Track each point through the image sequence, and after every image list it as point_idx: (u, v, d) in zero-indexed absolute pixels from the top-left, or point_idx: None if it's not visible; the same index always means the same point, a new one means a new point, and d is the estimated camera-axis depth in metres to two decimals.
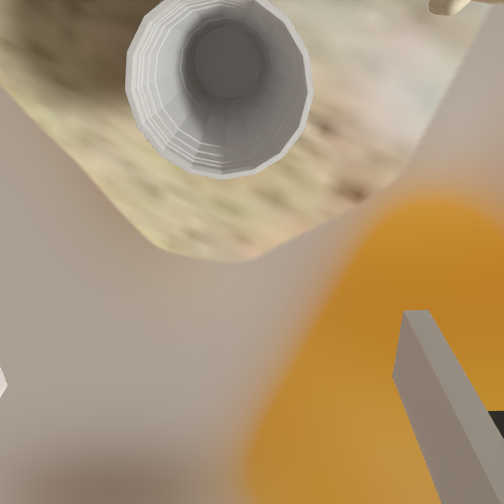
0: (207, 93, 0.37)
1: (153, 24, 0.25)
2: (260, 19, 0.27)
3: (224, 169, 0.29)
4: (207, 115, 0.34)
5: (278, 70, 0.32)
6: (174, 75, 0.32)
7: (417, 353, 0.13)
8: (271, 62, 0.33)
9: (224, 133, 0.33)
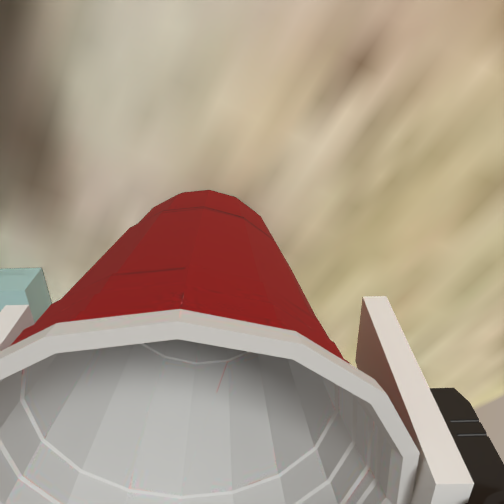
0: None
1: None
2: None
3: (384, 487, 0.11)
4: None
5: None
6: (197, 396, 0.18)
7: (372, 335, 0.14)
8: None
9: None
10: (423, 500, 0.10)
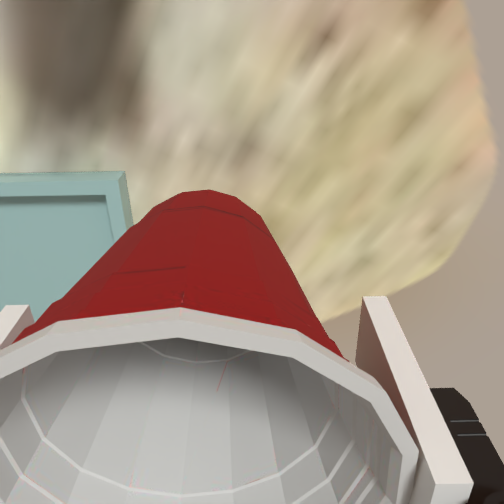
0: None
1: None
2: None
3: (383, 485, 0.11)
4: None
5: None
6: (197, 395, 0.18)
7: (372, 335, 0.14)
8: None
9: None
10: (423, 500, 0.10)
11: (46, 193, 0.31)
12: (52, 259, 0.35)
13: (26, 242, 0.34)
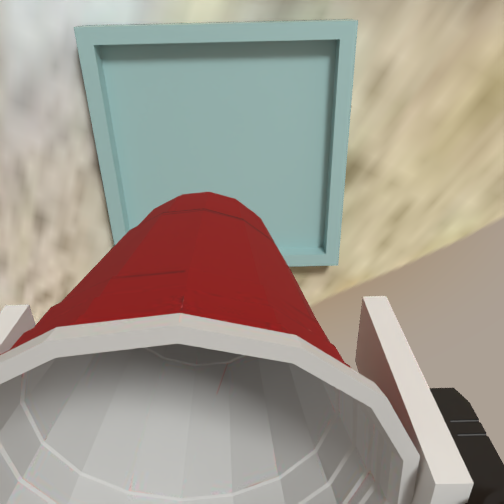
0: None
1: None
2: None
3: (384, 490, 0.11)
4: None
5: None
6: (197, 398, 0.17)
7: (372, 335, 0.14)
8: None
9: None
10: (423, 500, 0.10)
11: (275, 37, 0.28)
12: (254, 128, 0.32)
13: (230, 107, 0.31)
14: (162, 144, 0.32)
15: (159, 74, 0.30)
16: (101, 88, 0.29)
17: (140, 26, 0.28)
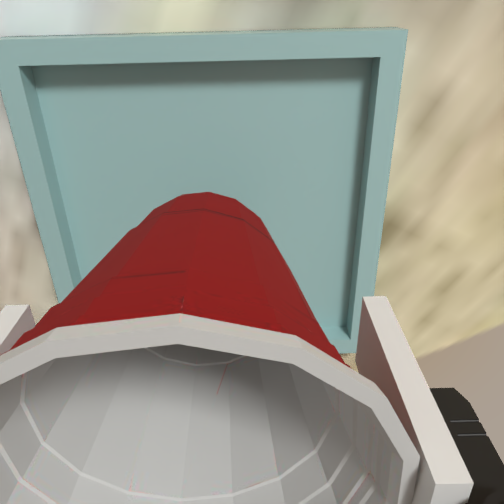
0: None
1: None
2: None
3: (384, 491, 0.11)
4: None
5: None
6: (197, 398, 0.17)
7: (372, 335, 0.14)
8: None
9: None
10: (423, 500, 0.10)
11: (285, 55, 0.19)
12: (255, 177, 0.23)
13: (220, 150, 0.22)
14: (127, 199, 0.23)
15: (119, 105, 0.21)
16: (34, 127, 0.20)
17: (86, 38, 0.19)
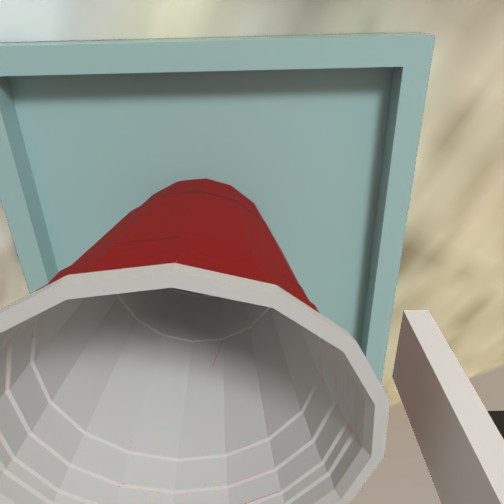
0: None
1: None
2: None
3: (360, 438, 0.12)
4: (270, 321, 0.19)
5: None
6: (194, 371, 0.19)
7: (417, 353, 0.13)
8: None
9: (299, 333, 0.16)
10: None
11: (295, 64, 0.17)
12: (259, 199, 0.20)
13: (221, 169, 0.20)
14: (117, 222, 0.21)
15: (107, 120, 0.19)
16: (11, 144, 0.18)
17: (67, 45, 0.16)
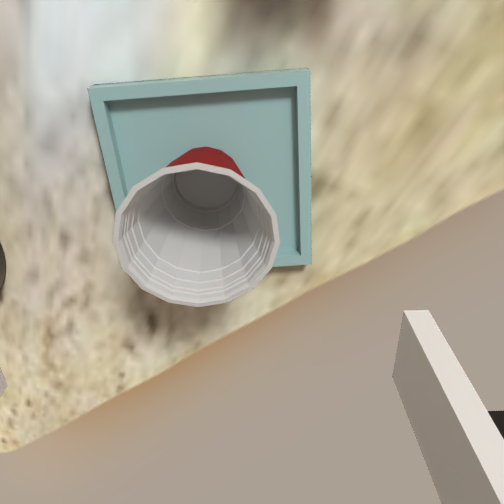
0: (231, 200, 0.40)
1: (149, 281, 0.32)
2: (147, 189, 0.31)
3: (271, 237, 0.31)
4: (242, 215, 0.37)
5: None
6: (205, 242, 0.37)
7: (417, 353, 0.13)
8: None
9: (252, 212, 0.35)
10: None
11: (245, 87, 0.35)
12: (235, 156, 0.39)
13: (214, 141, 0.38)
14: None
15: (156, 119, 0.38)
16: (110, 133, 0.37)
17: (139, 85, 0.35)
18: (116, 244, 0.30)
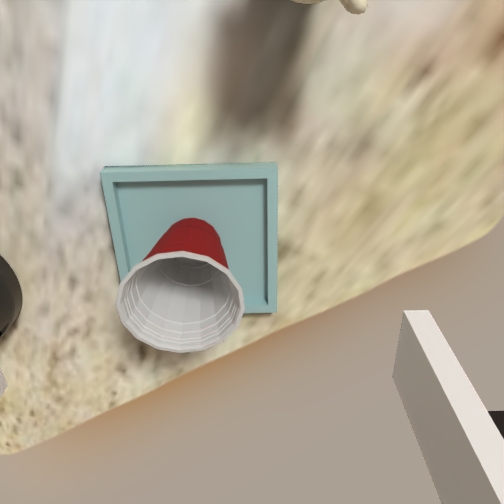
0: None
1: (142, 332, 0.41)
2: None
3: (238, 304, 0.40)
4: (219, 276, 0.46)
5: None
6: (189, 296, 0.46)
7: (417, 353, 0.13)
8: None
9: (227, 277, 0.44)
10: None
11: (226, 177, 0.44)
12: (216, 226, 0.48)
13: (200, 213, 0.47)
14: (156, 236, 0.49)
15: (153, 195, 0.46)
16: (116, 205, 0.46)
17: (141, 171, 0.44)
18: (118, 306, 0.39)
